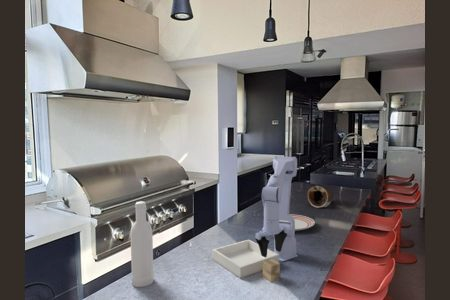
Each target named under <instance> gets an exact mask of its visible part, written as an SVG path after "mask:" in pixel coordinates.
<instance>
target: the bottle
mask: <svg viewBox="0 0 450 300" xmlns="http://www.w3.org/2000/svg"><path fill="white" fill-rule="evenodd" d="M134 204H135V205H134V208H135V222H134V223H133V224H132V226H131V228H130V231H129V232H130V233H129V235H130V257H131V258H130V259H131V260H130V263H131V284H132V285H133V287H136V288H145V287H149V286H150V285H151V284H153V282H154V281H155V280H154V279H155V278H154V274H155V273H154V243H153V241H154V239H153V228H152V225H151V223H150V222H149V221H147V203H146V201H143V200H142V201H136V203H134Z"/></svg>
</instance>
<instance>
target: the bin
mask: <svg viewBox="0 0 450 300" xmlns="http://www.w3.org/2000/svg"><path fill="white" fill-rule="evenodd" d="M211 250H212V251H211V253H212V261H214V262H215V263H217V264H219V265H220V266H221V267H222V268H224V269H225V270H227V271H229V272H230V273H231V274H233V275H234V276H236V278H238V279H240V280H241V279H244V278H245V279H246V278H247V277H249V276H253V275H255V274H256V275H257V274H258V273H261V272H263V262H265V261H268V260H271V259H272V260H274V261H276V262H278V263H280V260H279V254H277V253H275V252H274V250H272V249H269V248H267V257H263V256H261V251H260V248H259V245H258V243H257V242H254V241H253V240H251V239H246V240H242V241H238V242H235V243H230V244H228V245H224V246H220V247H216V248H213V249H211Z"/></svg>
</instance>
